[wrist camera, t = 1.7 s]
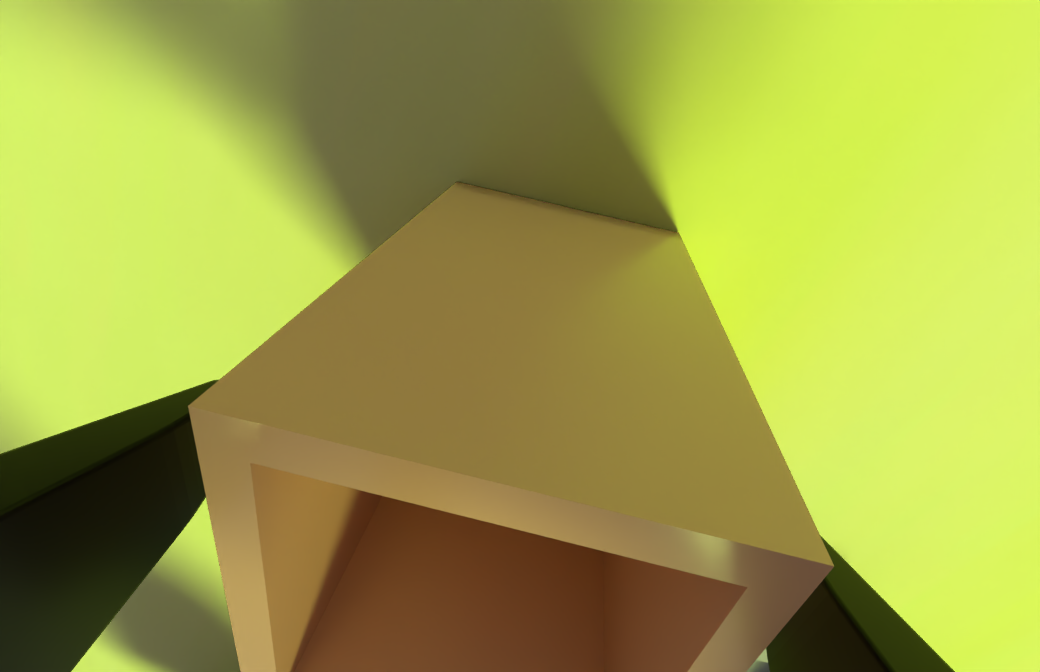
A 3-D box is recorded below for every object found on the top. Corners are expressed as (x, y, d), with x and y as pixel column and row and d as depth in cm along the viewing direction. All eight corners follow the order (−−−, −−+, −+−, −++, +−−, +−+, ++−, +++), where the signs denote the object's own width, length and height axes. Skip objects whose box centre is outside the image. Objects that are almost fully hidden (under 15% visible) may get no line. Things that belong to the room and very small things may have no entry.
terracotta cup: (434, 365, 15) (248, 708, 7) (457, 181, 12) (187, 406, 4) (613, 409, 15) (629, 809, 7) (679, 232, 12) (834, 566, 4)
